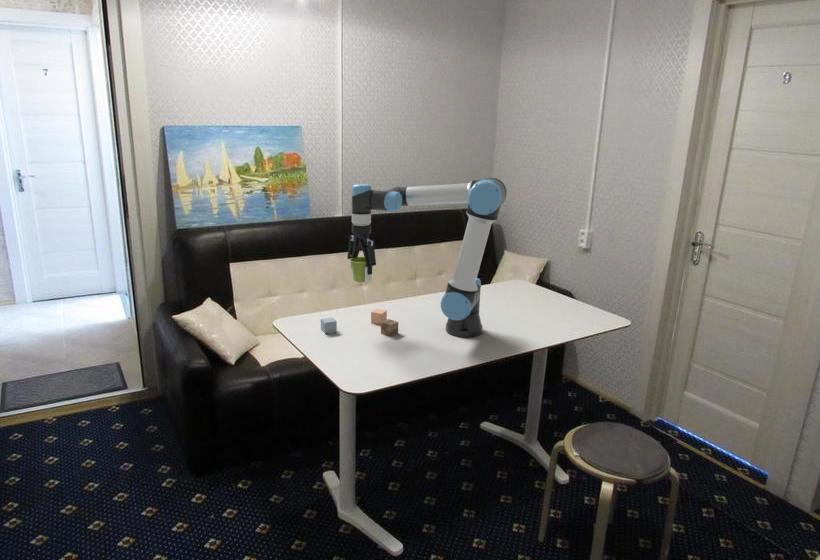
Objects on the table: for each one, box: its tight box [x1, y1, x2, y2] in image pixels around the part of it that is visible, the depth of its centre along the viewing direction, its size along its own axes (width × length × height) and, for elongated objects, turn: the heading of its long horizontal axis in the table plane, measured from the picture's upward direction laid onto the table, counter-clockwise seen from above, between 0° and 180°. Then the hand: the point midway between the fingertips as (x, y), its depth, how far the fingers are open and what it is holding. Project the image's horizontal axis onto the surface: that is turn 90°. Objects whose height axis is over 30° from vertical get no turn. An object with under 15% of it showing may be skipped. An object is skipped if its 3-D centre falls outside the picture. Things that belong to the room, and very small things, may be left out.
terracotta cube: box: [370, 308, 388, 326], centre depth 249 cm, size 5×5×5 cm
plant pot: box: [349, 256, 367, 283], centre depth 234 cm, size 9×9×9 cm
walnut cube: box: [380, 318, 399, 337], centre depth 236 cm, size 5×5×5 cm
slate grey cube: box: [320, 317, 338, 335], centre depth 237 cm, size 5×5×5 cm
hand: (361, 279), depth 235 cm, fingers closed on plant pot, 8 cm apart
